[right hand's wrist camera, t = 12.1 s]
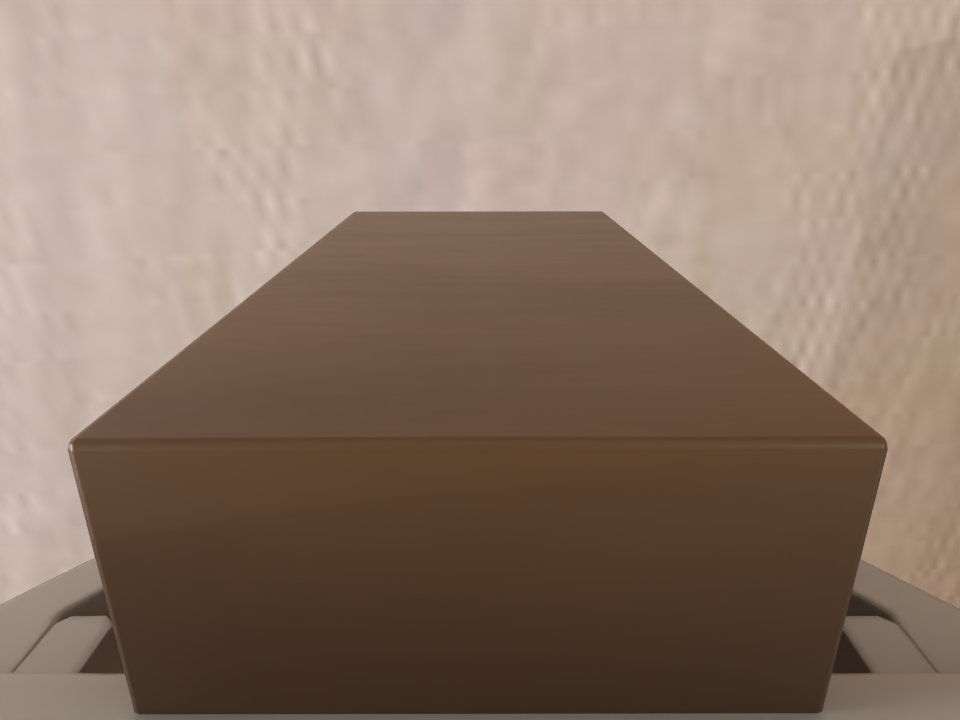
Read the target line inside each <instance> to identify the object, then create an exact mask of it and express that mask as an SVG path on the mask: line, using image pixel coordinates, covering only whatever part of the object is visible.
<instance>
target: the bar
mask: <svg viewBox="0 0 960 720" xmlns="http://www.w3.org/2000/svg"><path fill="white" fill-rule="evenodd" d="M68 452H69V456H70V460H71V464H72V468H73V472H74V476H75V480H76V484H77V488H78V492H79V495H80V499H81V503H82V507H83V511H84V515H85V519H86V523H87V527H88V531H89V535H90V539H91V543H92V547H93V551H94V555H95V559H96V562H97V566H98V570H99V574H100V578H101V582H102V586H103V590H104V594H105V598H106V602H107V606H108V610H109V614H110V618H111V622H112V626H113V629H114V633H115V637H116V641H117V645H118V649H119V653H120V657H121V661H122V665H123V669H124V673H125V677H126V681H127V685H128V689H129V692H130V696H131V700H132V704H133V708H134V712H135V713H137V714H700V713H819V712H822V710H823V706H824V702H825V698H826V694H827V690H828V686H829V682H830V678H831V674H832V670H833V666H834V662H835V658H836V654H837V650H838V646H839V642H840V638H841V634H842V630H843V626H844V622H845V618H846V614H847V610H848V606H849V602H850V598H851V594H852V590H853V586H854V582H855V578H856V574H857V570H858V566H859V562H860V558H861V554H862V550H863V546H864V542H865V538H866V534H867V529H868V525H869V521H870V517H871V513H872V509H873V505H874V501H875V497H876V493H877V489H878V485H879V481H880V477H881V473H882V469H883V465H884V461H885V457H886V453H887V442H886V440H885V438H883V437H882V436H881V435H880V434H878V433H877V432H876V431H875V430H874V429H872V428H871V427H870V426H869V425H867V424H866V423H865V422H864V421H862V420H861V419H860V418H859V417H857V416H856V415H855V414H854V413H852V412H851V411H850V410H849V409H847V408H846V407H845V406H844V405H842V404H841V403H840V402H839V401H837V400H836V399H835V398H834V397H832V396H831V395H830V394H829V393H827V392H826V391H825V390H824V389H822V388H821V387H820V386H819V385H817V384H816V383H815V382H814V381H812V380H811V379H810V378H809V377H807V376H806V375H805V374H804V373H803V372H801V371H800V370H799V369H798V368H796V367H795V366H794V365H793V364H791V363H790V362H789V361H788V360H786V359H785V358H784V357H783V356H781V355H780V354H779V353H778V352H776V351H775V350H774V349H773V348H771V347H770V346H769V345H768V344H766V343H765V342H764V341H763V340H761V339H760V338H759V337H758V336H756V335H755V334H754V333H753V332H751V331H750V330H749V329H748V328H746V327H745V326H744V325H743V324H741V323H740V322H739V321H738V320H737V319H735V318H734V317H733V316H732V315H730V314H729V313H728V312H727V311H725V310H724V309H723V308H722V307H720V306H719V305H718V304H717V303H715V302H714V301H713V300H712V299H710V298H709V297H708V296H707V295H705V294H704V293H703V292H702V291H700V290H699V289H698V288H697V287H695V286H694V285H693V284H692V283H690V282H689V281H688V280H687V279H685V278H684V277H683V276H682V275H680V274H679V273H678V272H677V271H675V270H674V269H673V268H672V267H671V266H669V265H668V264H667V263H666V262H664V261H663V260H662V259H661V258H659V257H658V256H657V255H656V254H654V253H653V252H652V251H651V250H649V249H648V248H647V247H646V246H644V245H643V244H642V243H641V242H639V241H638V240H637V239H636V238H634V237H633V236H632V235H631V234H629V233H628V232H627V231H626V230H624V229H623V228H622V227H621V226H619V225H618V224H617V223H616V222H614V221H613V220H612V219H611V218H609V217H608V216H607V215H606V214H605V213H603V212H354V213H352V214H351V215H350V216H349V217H348V218H346V219H345V220H344V221H343V222H341V223H340V224H339V225H338V226H336V227H335V228H334V229H333V230H331V231H330V232H329V233H328V234H326V235H325V236H324V237H323V238H321V239H320V240H319V241H318V242H316V243H315V244H314V245H313V246H311V247H310V248H309V249H308V250H306V251H305V252H304V253H303V254H302V255H300V256H299V257H298V258H297V259H295V260H294V261H293V262H292V263H290V264H289V265H288V266H287V267H285V268H284V269H283V270H282V271H280V272H279V273H278V274H277V275H275V276H274V277H273V278H272V279H270V280H269V281H268V282H267V283H265V284H264V285H263V286H262V287H260V288H259V289H258V290H257V291H256V292H254V293H253V294H252V295H251V296H249V297H248V298H247V299H246V300H244V301H243V302H242V303H241V304H239V305H238V306H237V307H236V308H234V309H233V310H232V311H231V312H229V313H228V314H227V315H226V316H224V317H223V318H222V319H221V320H219V321H218V322H217V323H216V324H214V325H213V326H212V327H211V328H210V329H208V330H207V331H206V332H205V333H203V334H202V335H201V336H200V337H198V338H197V339H196V340H195V341H193V342H192V343H191V344H190V345H188V346H187V347H186V348H185V349H183V350H182V351H181V352H180V353H178V354H177V355H176V356H175V357H173V358H172V359H171V360H170V361H168V362H167V363H166V364H165V365H164V366H162V367H161V368H160V369H159V370H157V371H156V372H155V373H154V374H152V375H151V376H150V377H149V378H147V379H146V380H145V381H144V382H142V383H141V384H140V385H139V386H137V387H136V388H135V389H134V390H132V391H131V392H130V393H129V394H127V395H126V396H125V397H124V398H122V399H121V400H120V401H119V402H118V403H116V404H115V405H114V406H113V407H111V408H110V409H109V410H108V411H106V412H105V413H104V414H103V415H101V416H100V417H99V418H98V419H96V420H95V421H94V422H93V423H91V424H90V425H89V426H88V427H86V428H85V429H84V430H83V431H81V432H80V433H79V434H78V435H76V436H75V437H74V438H73V439H72V440H71V441H70V443H69V448H68Z"/></svg>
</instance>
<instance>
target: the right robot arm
mask: <svg viewBox="0 0 960 720" xmlns="http://www.w3.org/2000/svg"><path fill="white" fill-rule="evenodd" d="M0 720H960V609H958V608H956V607H954V606H952V605H950V604H948V603H946V602H944V601H942V600H940V599H938V598H936V597H934V596H933V595H931V594H929V593H927V592H925V591H923V590H921V589H919V588H917V587H915V586H913V585H911V584H909V583H907V582H905V581H903V580H901V579H899V578H897V577H895V576H893V575H891V574H889V573H887V572H885V571H883V570H881V569H879V568H877V567H875V566H873V565H871V564H869V563H867V562H865V561H863V560H861V559H860V562H859V566H858V570H857V574H856V578H855V582H854V586H853V590H852V594H851V598H850V602H849V606H848V610H847V614H846V618H845V622H844V626H843V630H842V634H841V638H840V642H839V646H838V650H837V654H836V658H835V662H834V666H833V670H832V674H831V678H830V682H829V686H828V690H827V694H826V698H825V702H824V706H823V710H822V712H819V713H700V714H137V713H135V712H134V708H133V704H132V700H131V696H130V692H129V689H128V685H127V681H126V677H125V673H124V669H123V665H122V661H121V657H120V653H119V649H118V645H117V641H116V637H115V633H114V629H113V626H112V622H111V618H110V614H109V610H108V606H107V602H106V598H105V594H104V590H103V586H102V582H101V578H100V574H99V570H98V566H97V562H96V559H95V558H93V559H91V560H89V561H87V562H85V563H83V564H81V565H79V566H77V567H75V568H73V569H71V570H69V571H67V572H65V573H63V574H61V575H59V576H57V577H55V578H53V579H51V580H49V581H47V582H45V583H43V584H41V585H39V586H37V587H35V588H33V589H31V590H29V591H27V592H25V593H23V594H21V595H19V596H17V597H15V598H13V599H11V600H9V601H7V602H5V603H3V604H1V605H0Z"/></svg>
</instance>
